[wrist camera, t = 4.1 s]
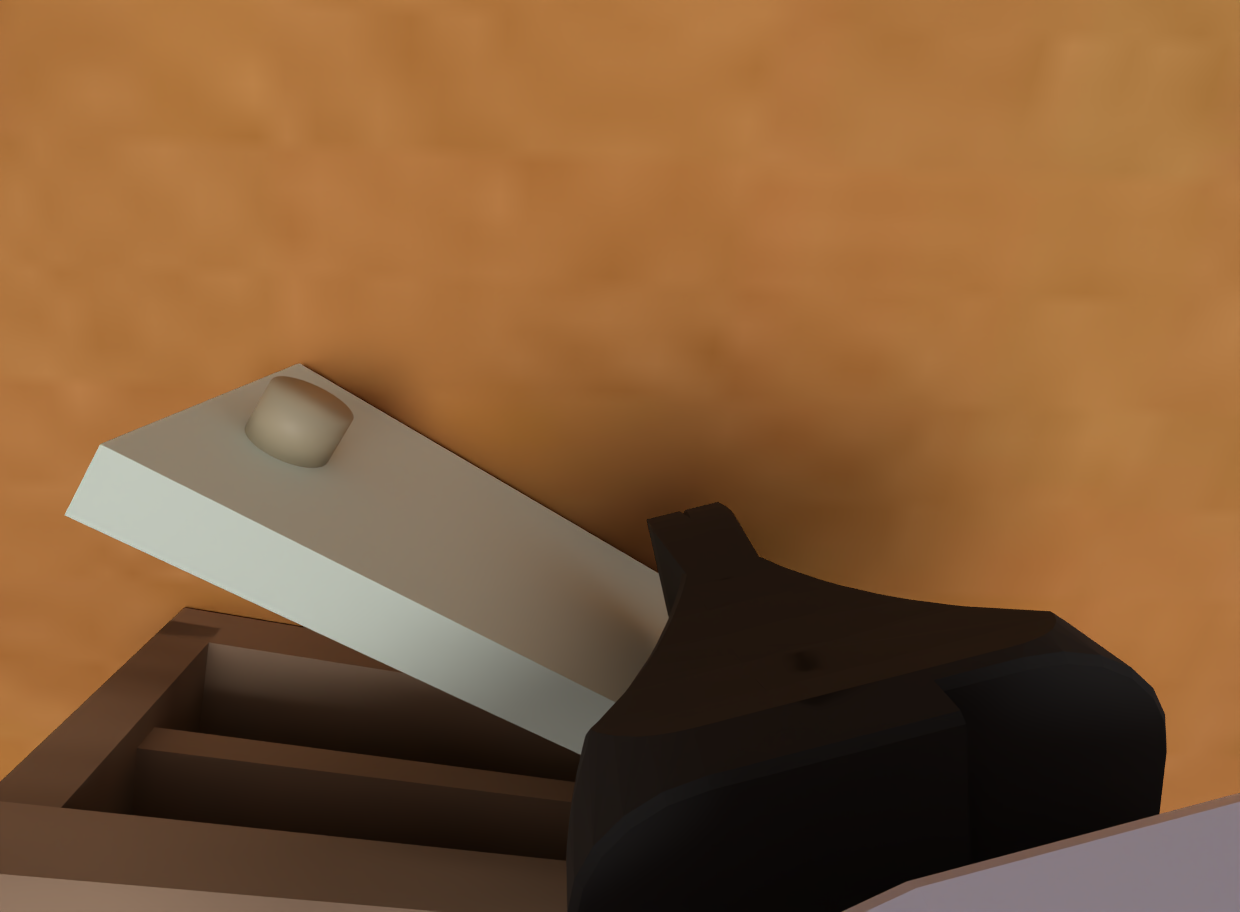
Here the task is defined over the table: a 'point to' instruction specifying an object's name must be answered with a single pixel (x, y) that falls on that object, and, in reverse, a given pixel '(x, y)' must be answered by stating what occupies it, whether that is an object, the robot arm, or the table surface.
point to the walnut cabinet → (282, 788)
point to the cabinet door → (384, 548)
